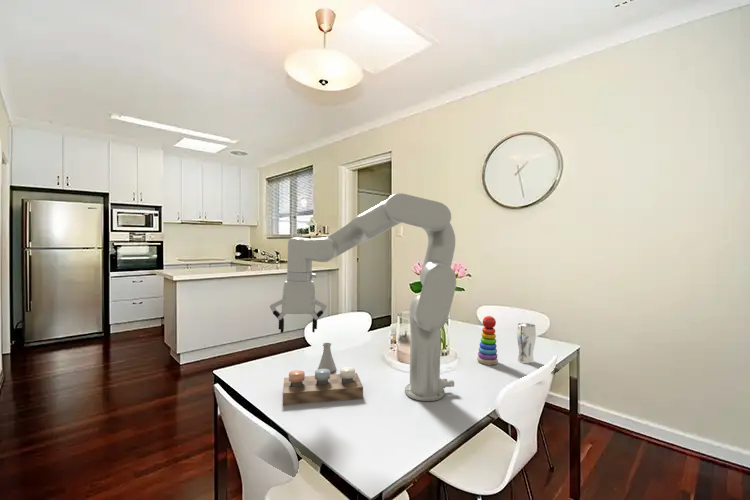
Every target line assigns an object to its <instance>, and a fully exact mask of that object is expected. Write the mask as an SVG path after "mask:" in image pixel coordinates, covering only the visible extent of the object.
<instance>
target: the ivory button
mask: <svg viewBox="0 0 750 500" xmlns="http://www.w3.org/2000/svg"><path fill="white" fill-rule="evenodd" d="M355 373H356V369H355V367H351V366H345V367H341V368H340V369H339V374H340V377H341V378H342V383H351V382H353V378H354V377H355Z"/></svg>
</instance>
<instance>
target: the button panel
mask: <svg viewBox="0 0 750 500" xmlns="http://www.w3.org/2000/svg"><path fill="white" fill-rule="evenodd" d="M282 385H283V387H282V406H286V405H287V406H288V405H298V404H299V405H300V404H309V403H310V404H311V403H321V402H323V401H325V402H333V401H345V400H348V401H349V400H357V399H358V400H360V399H363V398H364V386H363V384H362V382H361V379H360V377H359V375H358V373H357V372H355V377H354V378H353V382H351V383H342V378H341V377H340V373H333V374H330V379H328V384H324V385H317V380H316V379H315V375H307V376H306V375H305V379H304V380H303V381H302V386H297V387H292V382H290V381H289V377H284V378H283V384H282Z"/></svg>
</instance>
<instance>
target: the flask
mask: <svg viewBox="0 0 750 500" xmlns="http://www.w3.org/2000/svg"><path fill="white" fill-rule="evenodd" d="M322 346H323V351H322V355H321V358H320V361H319V364H318V367H317V370H318V369H329V370H330V374H331V373H333V372H336V371H337V366H336V363H335V360H334V357H333V354H332V351H331V346H332V343H331V342H324V343H322Z"/></svg>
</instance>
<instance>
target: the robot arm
mask: <svg viewBox="0 0 750 500" xmlns="http://www.w3.org/2000/svg"><path fill="white" fill-rule="evenodd" d="M451 221H452V213H451V210H450V209H449V207H448V206H447V205H446V204H445V203H443V202H439V201H436V200H431V199H428V198H424V197H418V196H414V195H412V194H407V193H403V192H402V193H401V192H400V193H399V192H397V193H394V194H392V195H390V196H389V197H388V198H387V199H386V200H383V201H381V202H380V203H378V204H377V205H375V206H373V207H371V208H369V209H368V210H366V211H364V212H362V213H360V214H358V215H357V216H355V217H354V218H352V220H351V221H349V222H348V223H347V224H346V225H344V226H343V227H340V228H339V229H337V230H336V231H334V232H333V233H331V234H328V235H327V236H326V237H317V238H307V237H291V238H289V239H288V240H287V262H286V263H287V264H286V265H287V266H286V267H287V268H286V269H287V270H286V280H285V281H284V283H283V289H282V298H281V299H279V300H278V301H276V302H274V303H271V304H270V305H269V308H270V310H271V312H272V314H273V316H275V318H277V320H278V330H280V333H281V334H282V333H284V330H285V318H284V317H285V316H286V315H311V316H312V327H311V328H312V329H311V331H312V333H315V331H316V330H318V319H319V318H320V317H321V316H322V315H324V312H325V311H326V308H327V305H326V303H323V302H321V301H319V300H318V299H316V289H315V288H316V287H315V283H314V281H313V279H316V278H317V273H313V262H316V263H317V262H318V263H328V262H330V261H332V260H333V259H335V258H337V257H339V256H340V255H342V254H344V253H346V252H348V251H349V250H351V249H354V248H355V247H357V246H359V245H361V244H364V243H366V242H369V241H371V240H372V239H374V238H376V237H378V236H380V235H381V234H383V233H385V232H387V231H388V230H390V229H392V228H395V227H396V226H397V225H399V224H401V223H402V224H406V225H409V226H414V227H418V228H421V229H422V230H424V232H426V235H427V240H428V241H427V248H426V253H425V256H424V260H423V264H422V267H421V270H420V272H419V273H420V275H419V282H420V283H421V285H422V287H421V291H420V294H417V296H415V297H414V298H413V299H412V301H411V303H410V305H409V328H410V330H409V332H410V333H409V334H410V336H409V337H410V344H409V345H410V346H409V349H410V350H409V384H407V385H406V386H404V393H405V396H408V397H409V398H410V399H413V400H417V401H420V402H435V401H438V400H441V399H442V398H444V397H445V392H446V390H445V388H454V387H455V381H454V380H453V379H452V380H448V379H447V378H441V377H440V376H441V329H442V328H443V327H444V326H445V324H446V323H447V320H448V317H449V315H450V311H451V307H452V304H453V299H454V295H455V293H456V292H455V291H456V288H457V276H456V273H455V271H454V269H453V268H452V263H453V258H454V254H455V249H456V235H455V232H454V228H453V226H452V223H451ZM316 305H317V306H318V307H320V310H319V311H318V312H316V311H315V309H316ZM279 306H281V312H279V311H278V310H277V308H278V307H279Z"/></svg>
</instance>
